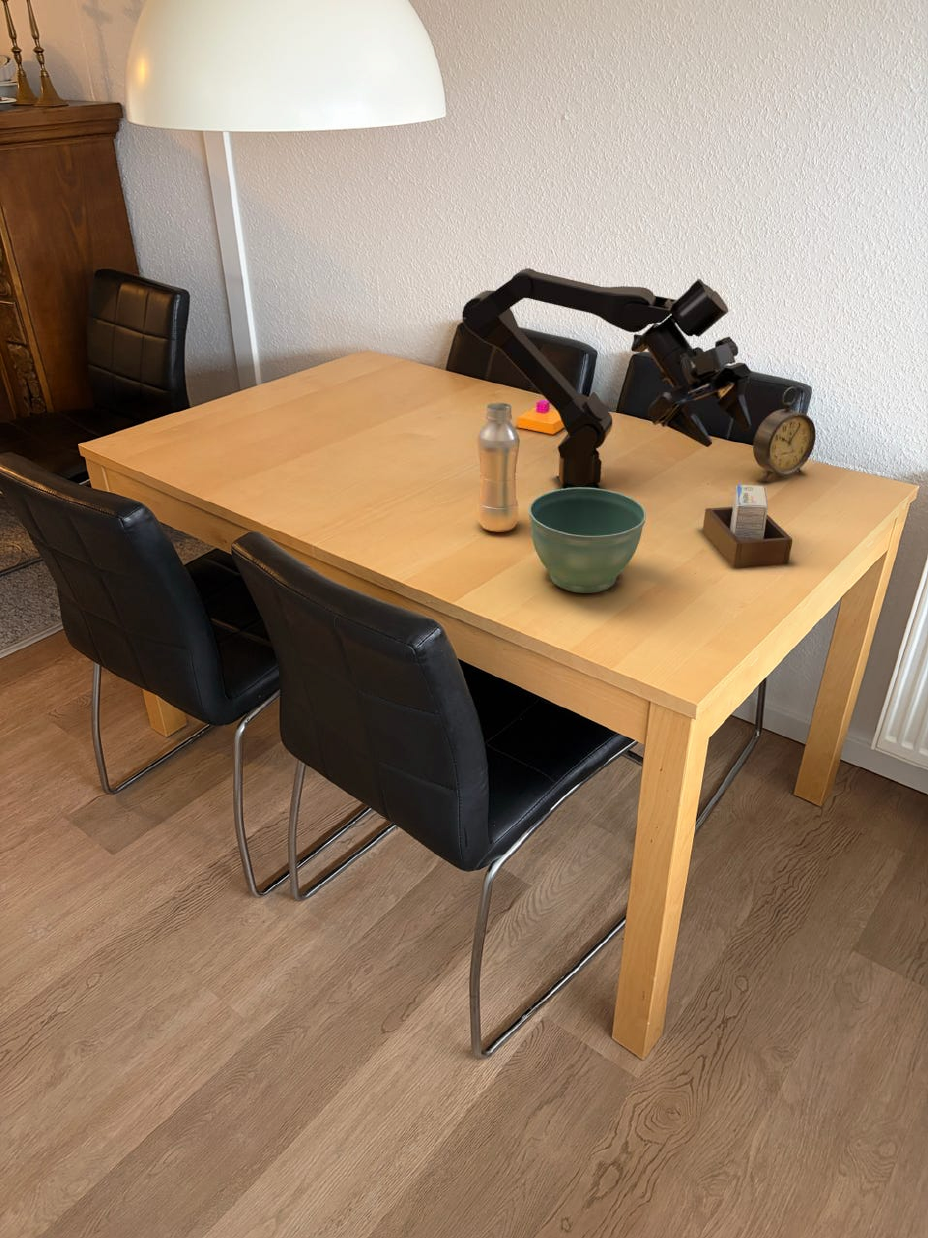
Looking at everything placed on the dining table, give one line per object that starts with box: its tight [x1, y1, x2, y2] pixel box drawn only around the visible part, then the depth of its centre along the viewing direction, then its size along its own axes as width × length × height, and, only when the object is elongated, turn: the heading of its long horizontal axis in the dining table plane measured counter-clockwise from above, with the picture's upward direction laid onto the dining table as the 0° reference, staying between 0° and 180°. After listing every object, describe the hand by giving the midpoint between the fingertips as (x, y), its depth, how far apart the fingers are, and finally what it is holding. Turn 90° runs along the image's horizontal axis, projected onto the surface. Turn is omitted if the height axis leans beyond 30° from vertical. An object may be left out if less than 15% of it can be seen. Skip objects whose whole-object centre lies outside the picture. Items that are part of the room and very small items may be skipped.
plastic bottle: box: [476, 402, 521, 533], centre depth 151 cm, size 6×7×20 cm
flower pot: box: [528, 487, 647, 594], centre depth 138 cm, size 16×16×11 cm
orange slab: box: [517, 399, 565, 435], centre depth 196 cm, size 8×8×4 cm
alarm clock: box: [752, 386, 817, 483], centre depth 170 cm, size 11×5×16 cm, turn 118°
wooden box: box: [702, 506, 793, 569], centre depth 149 cm, size 9×13×4 cm
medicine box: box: [730, 484, 769, 541], centre depth 148 cm, size 8×4×9 cm, turn 168°
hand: (729, 436), depth 151 cm, fingers open, 9 cm apart
